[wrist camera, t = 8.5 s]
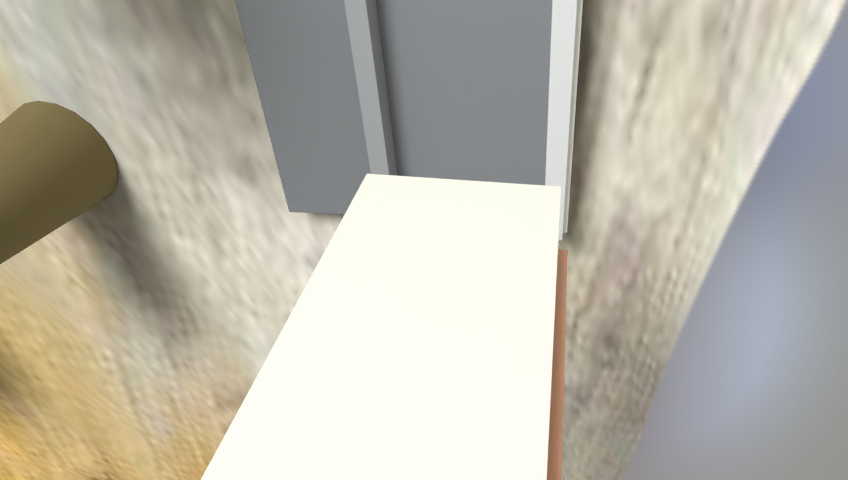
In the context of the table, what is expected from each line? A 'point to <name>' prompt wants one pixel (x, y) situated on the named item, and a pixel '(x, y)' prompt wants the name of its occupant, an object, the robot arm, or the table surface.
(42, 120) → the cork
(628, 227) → the table surface
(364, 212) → the carton
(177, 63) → the table surface
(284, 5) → the shelf board
